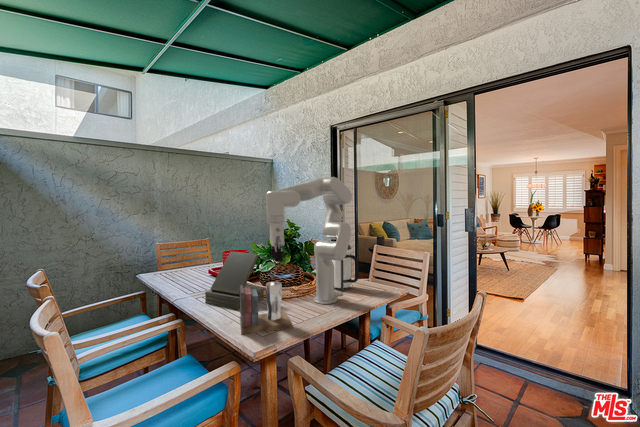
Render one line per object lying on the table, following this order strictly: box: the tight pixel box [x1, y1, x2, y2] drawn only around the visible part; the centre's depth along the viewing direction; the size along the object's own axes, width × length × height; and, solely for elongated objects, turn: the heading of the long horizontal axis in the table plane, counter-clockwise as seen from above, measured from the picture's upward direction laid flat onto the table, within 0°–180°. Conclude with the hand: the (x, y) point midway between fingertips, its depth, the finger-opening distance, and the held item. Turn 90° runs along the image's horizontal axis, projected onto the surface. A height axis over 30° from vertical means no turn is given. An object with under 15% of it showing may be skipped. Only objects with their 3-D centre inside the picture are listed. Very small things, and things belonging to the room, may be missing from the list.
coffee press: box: [332, 243, 360, 293], centre depth 178 cm, size 17×16×30 cm
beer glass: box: [265, 281, 283, 321], centre depth 127 cm, size 7×7×15 cm
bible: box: [204, 251, 265, 311], centre depth 157 cm, size 23×20×25 cm
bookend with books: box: [239, 285, 293, 335], centre depth 126 cm, size 20×14×16 cm
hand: (276, 259), depth 129 cm, fingers open, 9 cm apart
